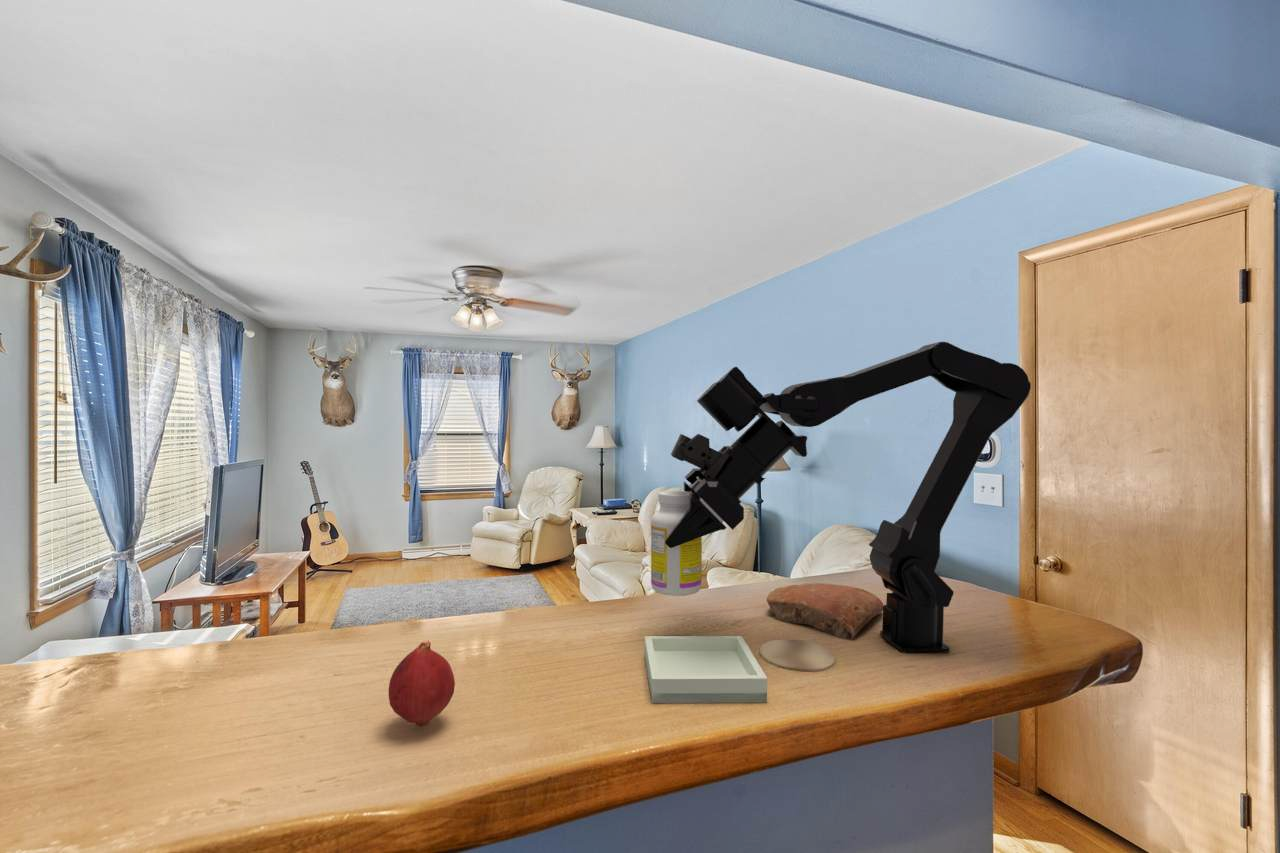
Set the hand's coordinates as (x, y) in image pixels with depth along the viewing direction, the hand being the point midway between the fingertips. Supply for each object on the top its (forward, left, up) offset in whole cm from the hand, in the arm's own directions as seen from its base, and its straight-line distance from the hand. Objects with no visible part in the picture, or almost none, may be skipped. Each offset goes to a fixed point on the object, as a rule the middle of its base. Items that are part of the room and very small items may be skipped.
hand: (666, 539), depth 79 cm
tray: (-3, +12, -13) cm, 18 cm away
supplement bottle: (-1, 0, -7) cm, 7 cm away
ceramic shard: (-25, -10, -14) cm, 30 cm away
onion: (+25, +22, -13) cm, 36 cm away
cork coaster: (-16, +6, -13) cm, 22 cm away
